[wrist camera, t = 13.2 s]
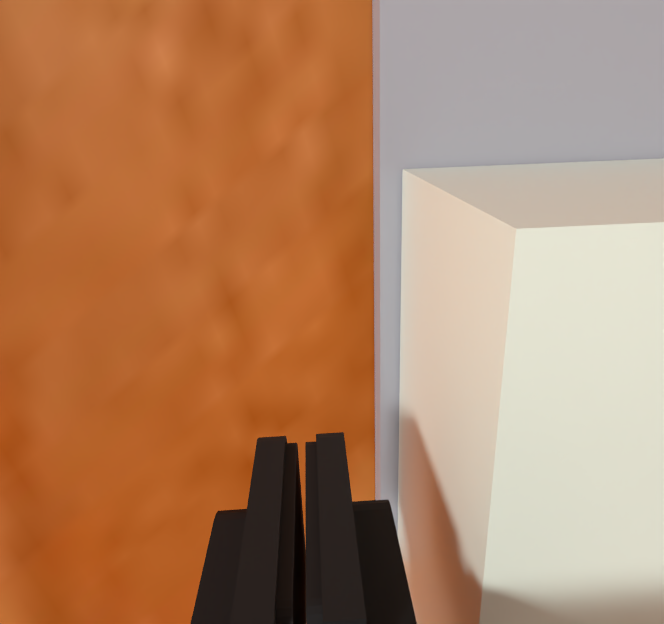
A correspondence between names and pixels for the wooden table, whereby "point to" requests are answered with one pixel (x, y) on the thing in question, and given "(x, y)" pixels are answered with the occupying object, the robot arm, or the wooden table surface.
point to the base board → (496, 120)
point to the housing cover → (533, 393)
